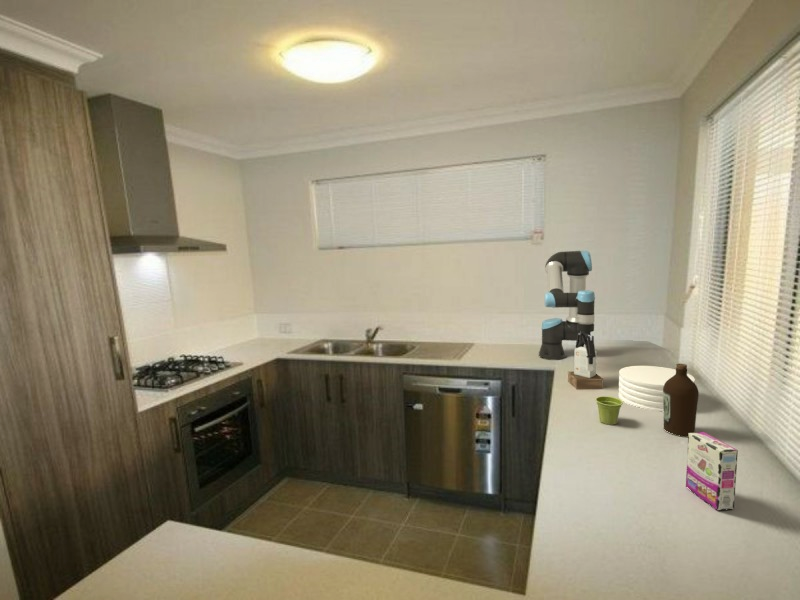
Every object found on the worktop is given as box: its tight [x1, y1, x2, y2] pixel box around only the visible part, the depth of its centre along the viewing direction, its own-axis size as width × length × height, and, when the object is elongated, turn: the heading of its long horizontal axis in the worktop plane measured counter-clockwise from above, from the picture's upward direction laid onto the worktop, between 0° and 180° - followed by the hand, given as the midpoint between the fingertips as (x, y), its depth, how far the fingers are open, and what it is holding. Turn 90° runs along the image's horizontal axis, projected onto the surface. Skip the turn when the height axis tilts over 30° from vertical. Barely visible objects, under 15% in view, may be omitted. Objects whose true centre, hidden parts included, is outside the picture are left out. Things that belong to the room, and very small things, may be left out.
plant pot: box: [595, 395, 624, 425], centre depth 162 cm, size 9×9×9 cm
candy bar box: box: [685, 431, 739, 511], centre depth 112 cm, size 11×5×16 cm, turn 5°
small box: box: [573, 346, 597, 378], centre depth 203 cm, size 8×6×13 cm
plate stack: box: [618, 365, 696, 412], centre depth 182 cm, size 28×28×12 cm
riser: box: [567, 371, 604, 390], centre depth 204 cm, size 12×12×5 cm
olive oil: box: [663, 363, 700, 437], centre depth 151 cm, size 11×11×25 cm
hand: (584, 366), depth 204 cm, fingers open, 12 cm apart
